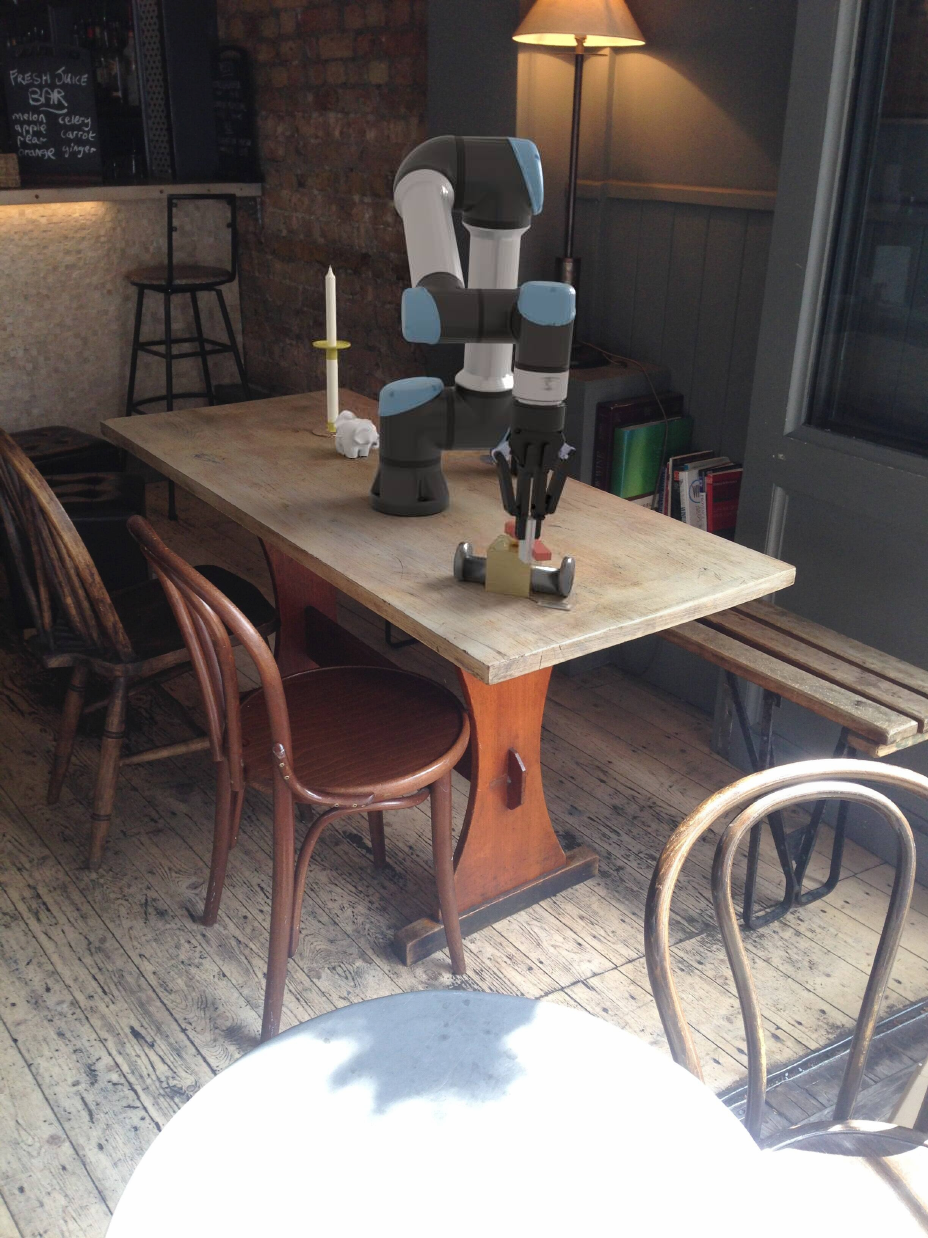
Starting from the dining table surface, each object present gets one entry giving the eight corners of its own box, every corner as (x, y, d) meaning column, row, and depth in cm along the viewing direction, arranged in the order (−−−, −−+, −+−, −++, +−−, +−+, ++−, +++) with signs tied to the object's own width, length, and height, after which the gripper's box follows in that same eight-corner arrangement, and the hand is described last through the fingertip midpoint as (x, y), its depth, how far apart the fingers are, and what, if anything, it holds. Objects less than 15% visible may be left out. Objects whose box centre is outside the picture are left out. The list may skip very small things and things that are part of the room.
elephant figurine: (393, 456, 238) (393, 415, 235) (344, 463, 232) (343, 422, 229) (371, 445, 246) (371, 406, 242) (323, 452, 239) (322, 412, 236)
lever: (501, 529, 169) (501, 521, 169) (523, 527, 170) (523, 520, 170) (532, 561, 157) (532, 553, 156) (555, 559, 158) (556, 552, 157)
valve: (446, 590, 169) (448, 537, 166) (466, 570, 177) (467, 519, 174) (569, 610, 164) (573, 555, 160) (583, 588, 172) (587, 536, 168)
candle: (352, 438, 251) (350, 267, 236) (308, 436, 251) (304, 266, 236) (356, 427, 260) (355, 262, 245) (314, 426, 260) (310, 261, 245)
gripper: (504, 405, 146) (492, 571, 155) (592, 404, 149) (575, 566, 159) (486, 393, 152) (475, 553, 161) (570, 393, 156) (555, 549, 165)
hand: (525, 559), depth 160 cm, fingers closed
